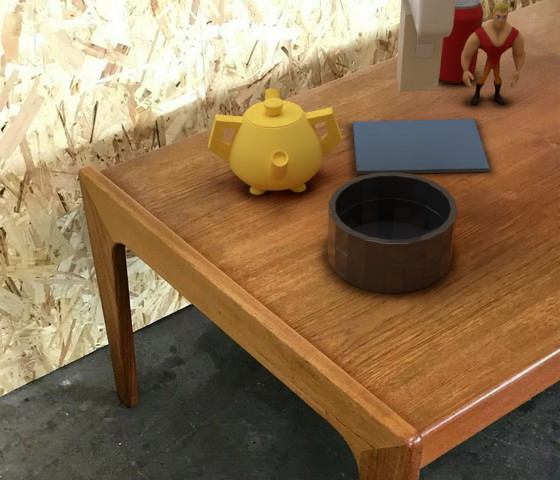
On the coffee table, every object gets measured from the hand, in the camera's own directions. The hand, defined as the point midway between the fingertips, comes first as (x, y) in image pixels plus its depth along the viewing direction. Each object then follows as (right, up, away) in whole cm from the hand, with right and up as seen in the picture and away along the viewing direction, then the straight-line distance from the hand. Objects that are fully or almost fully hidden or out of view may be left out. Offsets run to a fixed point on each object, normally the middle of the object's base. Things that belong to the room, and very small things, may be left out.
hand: (420, 45), depth 93 cm
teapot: (-17, -12, +16) cm, 26 cm away
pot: (-3, -24, +3) cm, 25 cm away
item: (0, -3, +3) cm, 5 cm away
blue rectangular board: (+3, -6, +21) cm, 22 cm away
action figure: (+16, +3, +30) cm, 34 cm away
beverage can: (+12, +10, +36) cm, 39 cm away
